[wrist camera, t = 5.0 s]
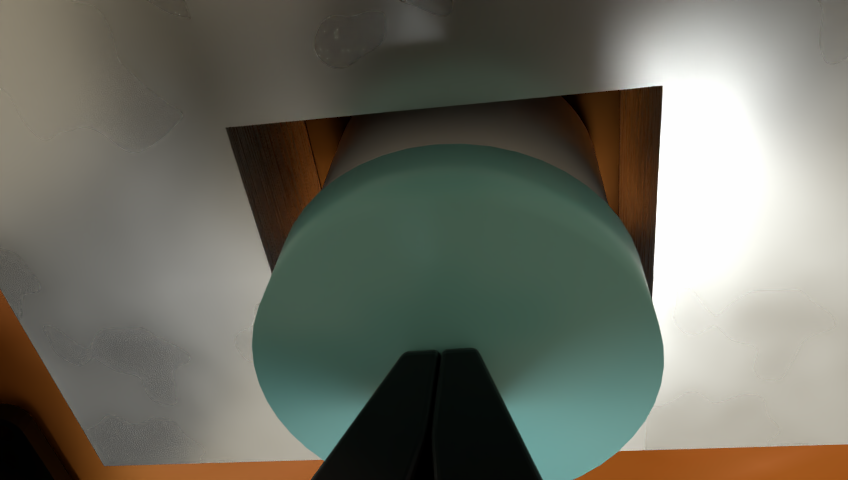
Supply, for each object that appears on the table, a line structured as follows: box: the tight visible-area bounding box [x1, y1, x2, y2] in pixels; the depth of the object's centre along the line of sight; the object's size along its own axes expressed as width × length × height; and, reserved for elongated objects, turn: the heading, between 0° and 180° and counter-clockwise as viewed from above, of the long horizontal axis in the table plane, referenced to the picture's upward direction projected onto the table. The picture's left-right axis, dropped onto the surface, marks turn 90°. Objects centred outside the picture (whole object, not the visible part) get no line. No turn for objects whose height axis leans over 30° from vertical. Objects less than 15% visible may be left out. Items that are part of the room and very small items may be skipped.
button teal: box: [252, 96, 664, 480], centre depth 10 cm, size 5×5×4 cm
